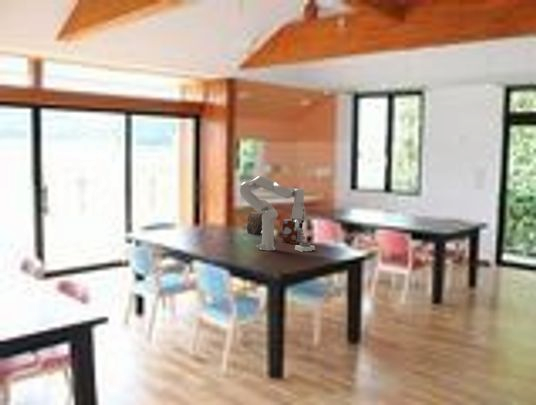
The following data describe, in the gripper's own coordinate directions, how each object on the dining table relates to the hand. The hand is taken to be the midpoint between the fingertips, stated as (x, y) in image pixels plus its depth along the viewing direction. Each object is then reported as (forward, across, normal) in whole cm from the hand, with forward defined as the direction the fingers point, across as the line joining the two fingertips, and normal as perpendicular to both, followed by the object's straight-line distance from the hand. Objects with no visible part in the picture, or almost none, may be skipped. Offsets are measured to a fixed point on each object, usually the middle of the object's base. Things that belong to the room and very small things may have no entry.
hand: (297, 227), depth 440 cm
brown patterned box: (+20, +28, -34) cm, 48 cm away
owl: (+19, +80, -44) cm, 94 cm away
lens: (+2, 0, 0) cm, 2 cm away
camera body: (+20, 0, -12) cm, 23 cm away
